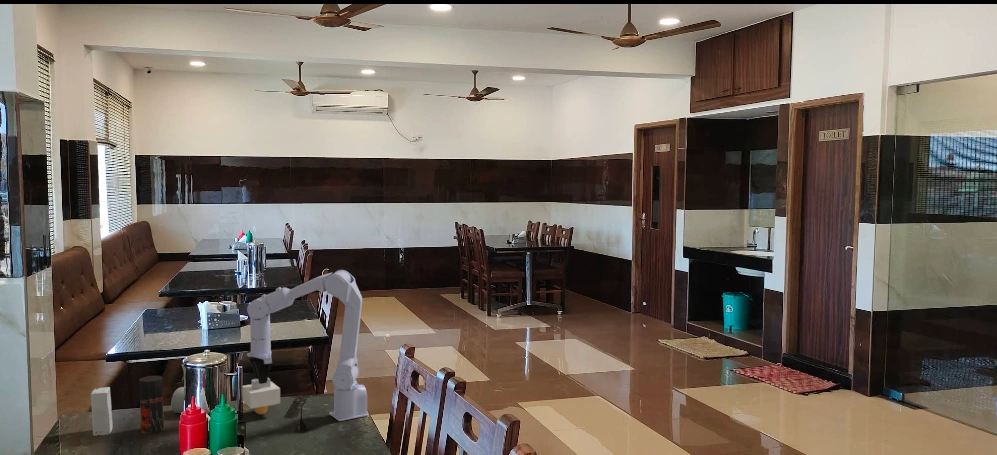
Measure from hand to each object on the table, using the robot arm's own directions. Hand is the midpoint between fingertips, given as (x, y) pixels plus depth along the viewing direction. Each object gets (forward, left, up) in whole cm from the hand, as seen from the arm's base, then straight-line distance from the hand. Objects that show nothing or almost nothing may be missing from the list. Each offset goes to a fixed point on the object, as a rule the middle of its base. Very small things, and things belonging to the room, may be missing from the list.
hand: (261, 381), depth 224 cm
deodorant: (+30, -4, -10) cm, 32 cm away
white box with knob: (0, 0, -6) cm, 6 cm away
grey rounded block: (+17, -15, -10) cm, 25 cm away
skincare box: (+42, -10, -10) cm, 44 cm away
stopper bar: (0, -7, -10) cm, 12 cm away
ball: (0, -1, -8) cm, 8 cm away
